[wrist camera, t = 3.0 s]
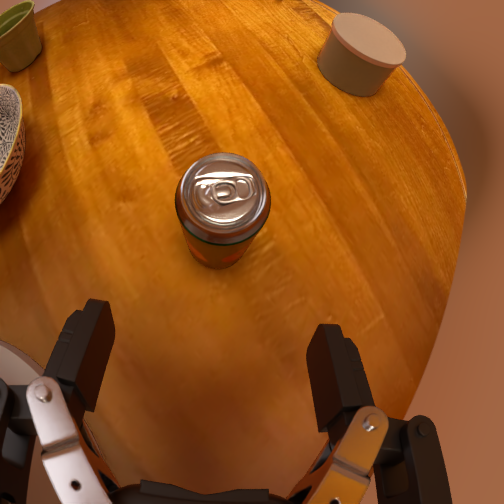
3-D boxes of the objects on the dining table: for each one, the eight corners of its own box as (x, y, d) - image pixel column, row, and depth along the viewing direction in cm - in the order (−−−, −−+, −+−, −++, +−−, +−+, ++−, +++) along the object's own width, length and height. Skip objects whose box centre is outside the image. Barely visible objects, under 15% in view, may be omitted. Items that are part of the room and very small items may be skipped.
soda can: (183, 219, 26) (165, 155, 14) (238, 207, 27) (261, 139, 15) (194, 275, 25) (182, 252, 14) (252, 262, 26) (286, 229, 15)
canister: (387, 73, 33) (411, 43, 27) (370, 110, 31) (398, 77, 25) (330, 38, 33) (347, 4, 26) (304, 69, 31) (321, 30, 24)
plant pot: (1, 92, 25) (-26, 57, 17) (0, 61, 26) (-21, 29, 17) (54, 56, 27) (35, 14, 19) (48, 29, 28) (33, -7, 19)
